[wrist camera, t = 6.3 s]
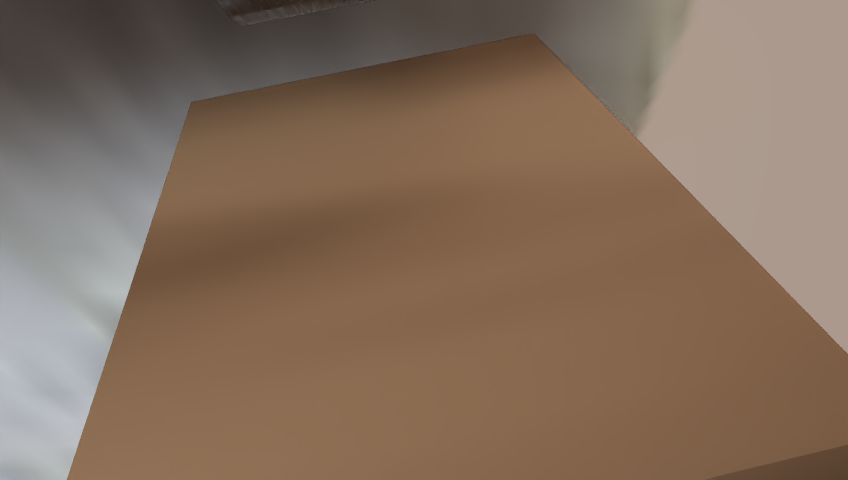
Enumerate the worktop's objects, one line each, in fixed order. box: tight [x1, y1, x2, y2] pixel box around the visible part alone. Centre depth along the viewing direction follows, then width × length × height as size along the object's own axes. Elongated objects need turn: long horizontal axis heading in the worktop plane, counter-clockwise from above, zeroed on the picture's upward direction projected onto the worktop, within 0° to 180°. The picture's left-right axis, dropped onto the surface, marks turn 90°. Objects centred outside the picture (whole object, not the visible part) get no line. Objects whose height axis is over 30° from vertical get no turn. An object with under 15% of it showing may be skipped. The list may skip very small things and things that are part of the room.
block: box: [67, 34, 848, 480], centre depth 6 cm, size 5×4×6 cm
